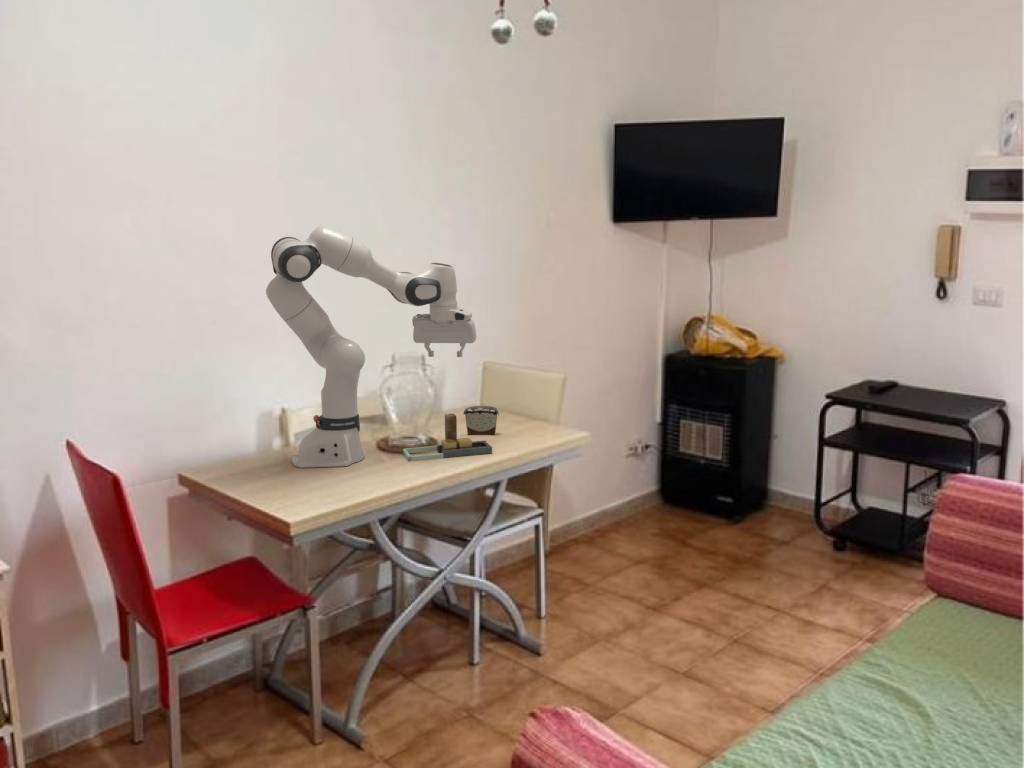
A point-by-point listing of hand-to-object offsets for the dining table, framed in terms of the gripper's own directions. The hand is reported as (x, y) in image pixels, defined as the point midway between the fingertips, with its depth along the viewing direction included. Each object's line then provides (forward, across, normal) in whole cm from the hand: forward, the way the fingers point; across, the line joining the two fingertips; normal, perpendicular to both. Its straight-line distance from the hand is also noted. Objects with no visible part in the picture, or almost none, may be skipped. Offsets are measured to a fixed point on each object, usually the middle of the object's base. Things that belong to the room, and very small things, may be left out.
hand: (445, 356), depth 299 cm
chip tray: (+30, -5, -13) cm, 33 cm away
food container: (+31, +8, +18) cm, 37 cm away
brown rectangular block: (+31, 0, +2) cm, 31 cm away
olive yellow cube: (+30, +7, -6) cm, 31 cm away
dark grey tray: (+31, +7, -7) cm, 32 cm away
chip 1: (+30, +2, -9) cm, 31 cm away
